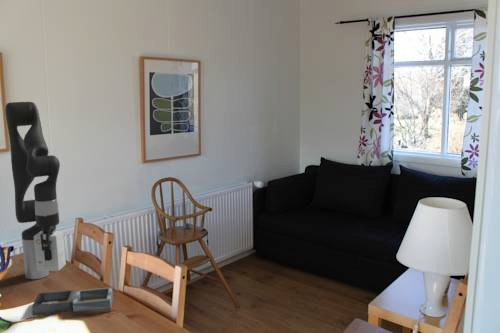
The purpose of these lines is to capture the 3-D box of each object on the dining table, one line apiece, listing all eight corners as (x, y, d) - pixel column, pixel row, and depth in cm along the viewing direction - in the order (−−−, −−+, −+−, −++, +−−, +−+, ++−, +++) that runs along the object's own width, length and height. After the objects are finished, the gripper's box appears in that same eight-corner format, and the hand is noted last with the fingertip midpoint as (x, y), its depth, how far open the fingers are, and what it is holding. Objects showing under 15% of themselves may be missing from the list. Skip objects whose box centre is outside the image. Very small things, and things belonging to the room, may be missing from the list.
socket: (39, 301, 167) (39, 293, 167) (75, 298, 170) (74, 289, 169) (32, 315, 156) (31, 306, 156) (70, 311, 159) (69, 302, 159)
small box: (66, 264, 164) (63, 230, 162) (58, 271, 158) (56, 236, 156) (44, 264, 164) (41, 230, 162) (36, 271, 158) (33, 236, 156)
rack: (77, 300, 168) (76, 290, 167) (113, 296, 171) (112, 286, 170) (72, 315, 156) (71, 304, 156) (111, 311, 159) (110, 300, 158)
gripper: (40, 207, 164) (43, 250, 166) (30, 218, 150) (34, 264, 153) (61, 206, 165) (65, 248, 168) (54, 216, 152) (58, 262, 154)
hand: (50, 256), depth 160 cm, fingers closed on small box, 7 cm apart
